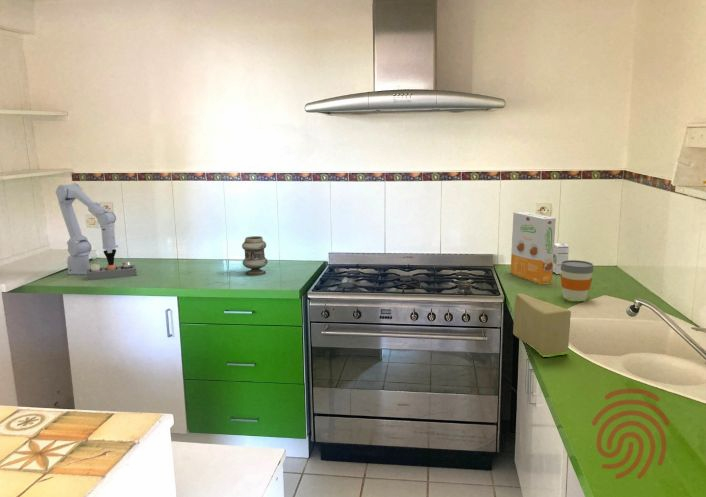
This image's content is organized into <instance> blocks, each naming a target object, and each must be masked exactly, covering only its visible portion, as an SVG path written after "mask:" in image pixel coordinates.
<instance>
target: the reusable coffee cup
mask: <svg viewBox="0 0 706 497" xmlns="http://www.w3.org/2000/svg"><path fill="white" fill-rule="evenodd" d="M561 271H562V275H560V284H561V287H562V298H563V297H564V298H567V299H574V300H583V299H586V298H588V294H589V290H590V289H591V285H592V280H593V277H592V276H593V273H594V264H593V263H592V262H589V261H585V260H576V259H575V260H573V259H572V260H571V259H568V260H567V261H563V262H562V264H561ZM586 300H587V299H586Z"/></svg>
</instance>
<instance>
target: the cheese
mask: <svg viewBox="0 0 706 497" xmlns="http://www.w3.org/2000/svg"><path fill="white" fill-rule="evenodd" d="M514 298H515V300H514V307H513V308H514V309H513V330H512V334H513V335H514V336H515V337H516V338H517V339H519V340H520V341H522V343H524V344H526V343H528V344H530V345H532V346H533V347H534V348H535V349H536V350H538V351H539V352H540V353H541V354H542V355H549V354H555V353H561V352H566V351H568V352H569V345H570V344H569V343H570V331H571V330H570V327H571V314H572V312H571V310H569V309H568V308H564V307H561V306H558V305H556V304H553V303H552V302H551V303H550V302H547V301H544V300H541V299H539V298H535V297H532V296H530V295H527V294H526V293H516V294H515V297H514Z"/></svg>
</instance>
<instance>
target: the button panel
mask: <svg viewBox="0 0 706 497" xmlns="http://www.w3.org/2000/svg"><path fill="white" fill-rule="evenodd" d="M85 275H86V281H91V280H92V281H93V280H103V279H114V278H124V277H135V276H137V267H136V264H131V268H127V269H123V268H122V265H117V266H116V270H107V266H106V267H100V271H95V272H91V268H90V269H87V272H86V274H85Z"/></svg>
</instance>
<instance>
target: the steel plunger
mask: <svg viewBox="0 0 706 497" xmlns="http://www.w3.org/2000/svg"><path fill="white" fill-rule="evenodd" d="M121 262H122V263H121V266H122V268H123V269H127V268H131V265H132V262H131V261H130V260H126V261H125V260H124V261H121Z"/></svg>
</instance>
